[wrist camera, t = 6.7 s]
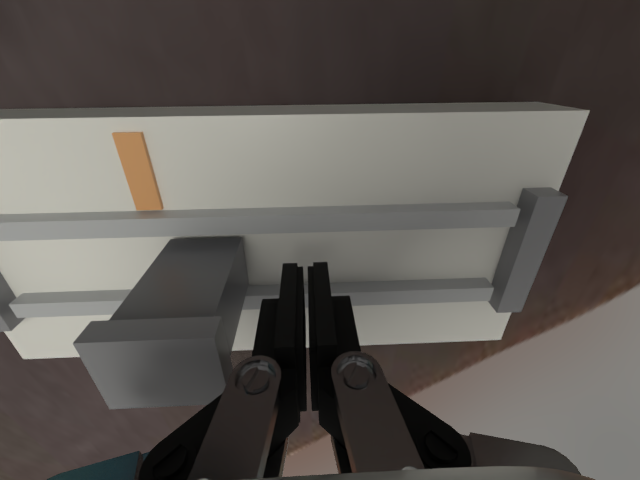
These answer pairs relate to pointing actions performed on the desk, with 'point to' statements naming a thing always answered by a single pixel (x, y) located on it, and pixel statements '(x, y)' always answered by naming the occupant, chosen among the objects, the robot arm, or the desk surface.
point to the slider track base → (284, 209)
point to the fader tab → (171, 328)
